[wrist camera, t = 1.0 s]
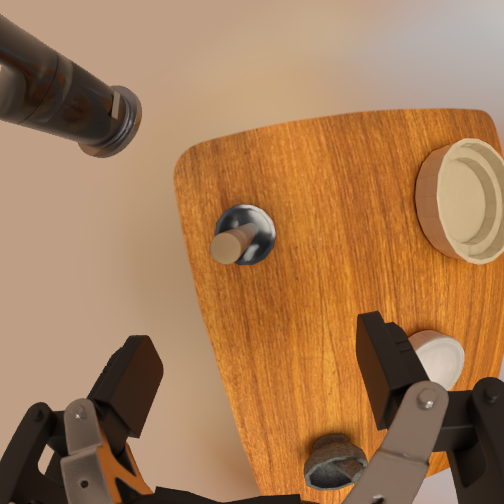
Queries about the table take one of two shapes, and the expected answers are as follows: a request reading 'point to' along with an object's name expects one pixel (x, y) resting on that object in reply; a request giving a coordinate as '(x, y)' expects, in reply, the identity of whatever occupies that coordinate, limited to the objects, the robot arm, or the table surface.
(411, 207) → the table surface
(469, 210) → the bowl
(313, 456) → the mortar and pestle
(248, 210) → the utensil pot
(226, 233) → the stick
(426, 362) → the ramekin
